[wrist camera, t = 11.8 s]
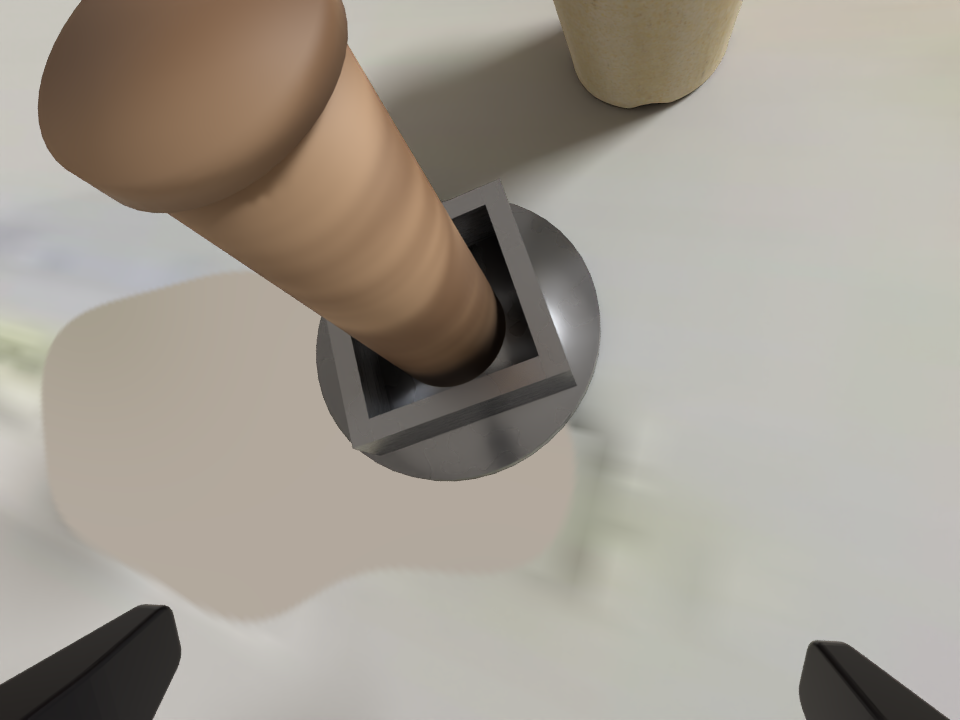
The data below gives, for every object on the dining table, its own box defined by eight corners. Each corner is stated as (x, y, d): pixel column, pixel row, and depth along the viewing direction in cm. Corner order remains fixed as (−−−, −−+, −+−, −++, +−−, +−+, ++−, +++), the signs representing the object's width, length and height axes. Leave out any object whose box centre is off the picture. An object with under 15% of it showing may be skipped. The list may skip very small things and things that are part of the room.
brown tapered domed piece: (531, 367, 20) (352, 86, 7) (403, 413, 21) (36, 237, 8) (491, 250, 22) (290, -141, 9) (375, 297, 22) (38, 1, 10)
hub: (649, 420, 19) (652, 404, 16) (353, 521, 21) (313, 521, 18) (543, 164, 23) (531, 118, 20) (303, 267, 25) (265, 237, 22)
